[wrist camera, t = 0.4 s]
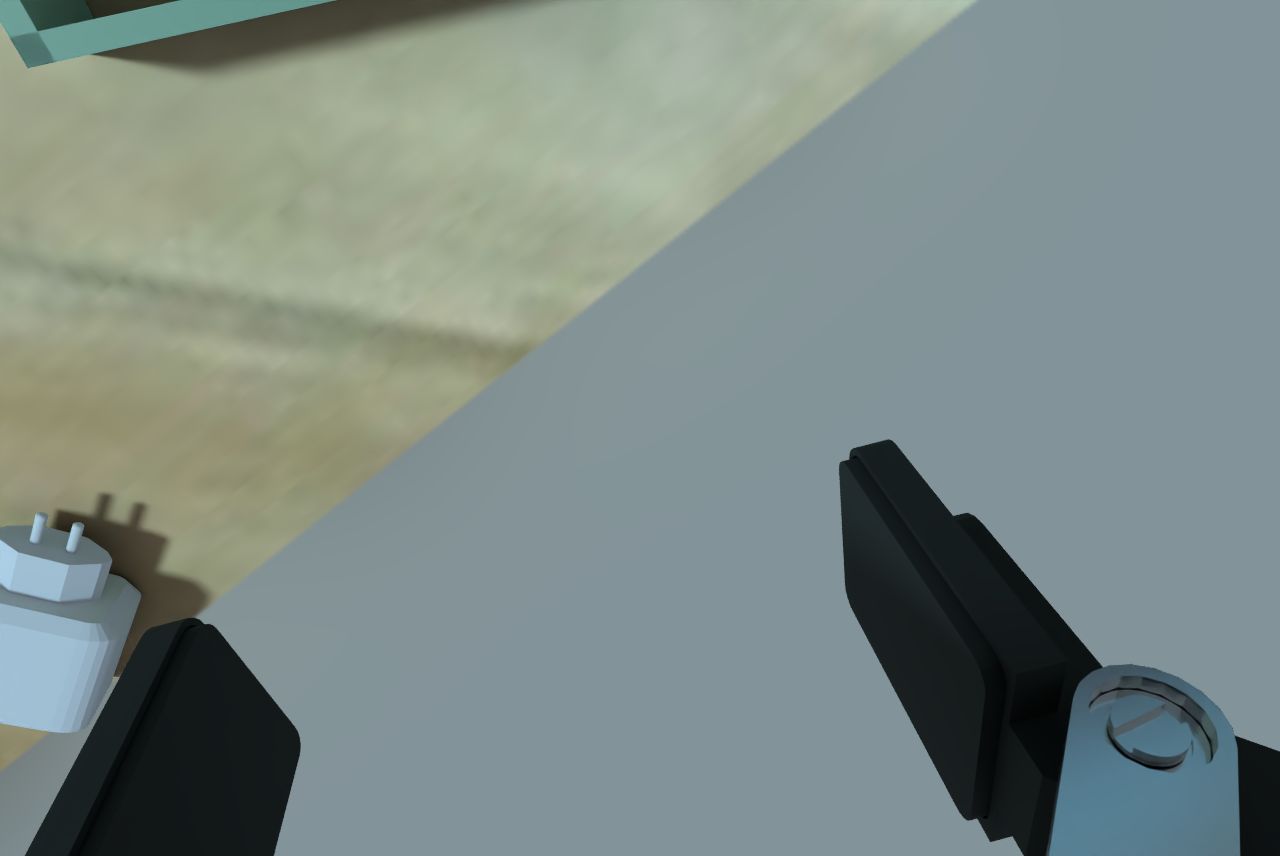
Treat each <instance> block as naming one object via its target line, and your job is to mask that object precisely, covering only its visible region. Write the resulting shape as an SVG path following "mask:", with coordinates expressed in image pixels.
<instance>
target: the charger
mask: <svg viewBox="0 0 1280 856" xmlns="http://www.w3.org/2000/svg"><path fill="white" fill-rule="evenodd" d="M47 518H48V515H47V514H46V513H43V512H40V513H37V514H36V516H35V520H34V524H33V526H5V527H1V528H0V723H3V724H9V725H15V726H20V727H26V728H32V729H38V730H44V731H50V732H59V733H65V732H75V731H80V730H82V729H85V728H86V727H87V726H88V725H89V724H90V722H91V720H92V718H93V716H94V714H95V712H96V710H97V709H98V707H99V705H100V703H101V701H102V700H103V698H104V696H105V694H106V692H107V690H108V688H109V687H110V685H111V682H112V679H113V676H114V673H115V670H116V668H117V665H118V662H119V659H120V656H121V653H122V651H123V648H124V645H125V642H126V639H127V636H128V633H129V631H130V628H131V625H132V622H133V619H134V616H135V614H136V611H137V608H138V605H139V602H140V599H141V593H140V592H139V590H137V589H136V588H135V587H134V586H133V585H131V584H130V583H129V582H128V581H127V580H125V579H124V578H122V577H120V576H117V575H113V574H109V570H110V567H111V563H112V559H111V557H110V555H109V553H108V552H107V551H106V550H104V549H103V548H102V547H100V546H99V545H97V544H96V543H94V542H93V541H92V540H90V539H89V538H87V537H83V536H82V533H83V529H84V525H83V524H82V523H80V522H76V523H73V526H72V529H71V533H68V532H64V531H60V530H57V529H53V528H49V527H45V526H46V522H47Z"/></svg>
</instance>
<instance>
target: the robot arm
mask: <svg viewBox="0 0 1280 856" xmlns="http://www.w3.org/2000/svg"><path fill="white" fill-rule="evenodd" d="M839 476H840V493H841V494H840V495H841V512H842V513H841V515H842V534H843V552H844V571H845V587H846V593H847V597H848V600H849V603H850V606H851V608H852V610H853V612H854V614H855V616H856V618H857V620H858V622H859V624H860V625H861V627H862V629H863V631H864V633H865V635H866V637H867V639H868V641H869V642H870V644H871V646H872V648H873V650H874V652H875V654H876V656H877V658H878V659H879V661H880V663H881V665H882V667H883V669H884V671H885V672H886V674H887V676H888V678H889V680H890V682H891V684H892V686H893V688H894V690H895V692H896V693H897V695H898V697H899V699H900V701H901V703H902V705H903V707H904V709H905V711H906V712H907V714H908V716H909V718H910V720H911V722H912V724H913V726H914V728H915V729H916V731H917V733H918V735H919V737H920V739H921V740H922V743H923V744H924V746H925V748H926V750H927V752H928V754H929V756H930V758H931V759H932V761H933V764H934V765H935V767H936V769H937V771H938V773H939V775H940V777H941V779H942V780H943V782H944V784H945V786H946V788H947V790H948V792H949V794H950V795H951V798H952V799H953V801H954V803H955V805H956V807H957V809H958V810H959V812H960V813H961V815H962V816H963V817H964V818H965V819H966V820H973V819H978V820H979V822H980V824H981V826H982V828H983V830H984V831H985V833H986V835H987V837H988V839H989V841H990V842H992V841H996V840H1000V839H1004V838H1007V837H1011V836H1013V838H1014V839H1015V841H1016V843H1017V845H1018V847H1019V848H1020V850H1021V852H1022V854H1023V855H1024V856H1280V751H1277V750H1274V749H1271V748H1268V747H1266V746H1263V745H1260V744H1257V743H1254V742H1251V741H1249V740H1246V739H1243V738H1240V737H1237V736H1235V735H1234V732H1233V728H1232V726H1231V725H1230V723H1229V722H1228V720H1227V719H1226V717H1225V715H1224V714H1223V712H1222V711H1221V709H1220V708H1219V707H1218V706H1217V705H1216V704H1215V703H1214V702H1213V701H1211V700H1210V699H1209V698H1208V697H1207V696H1206V695H1205V694H1204V693H1203V692H1202V691H1200V690H1199V689H1197V688H1195V687H1194V686H1192V685H1191V684H1189V683H1187V682H1186V681H1184V680H1182V679H1181V678H1179V677H1176V676H1174V675H1171V674H1169V673H1166V672H1163V671H1161V670H1158V669H1155V668H1150V667H1145V666H1138V665H1133V664H1126V665H1109V666H1106V667H1104V668H1103V667H1102V666H1101V665H1100V663H1099V662H1098V661H1097V660H1096V658H1095V657H1094V656H1093V655H1092V654H1091V652H1090V651H1089V650H1088V649H1087V648H1086V646H1085V645H1084V644H1083V643H1082V642H1081V641H1080V639H1079V638H1078V637H1077V636H1076V635H1075V633H1074V632H1073V631H1072V630H1071V629H1070V627H1069V626H1068V625H1067V624H1066V623H1065V621H1064V620H1063V619H1062V618H1061V617H1060V615H1059V614H1058V613H1057V612H1056V611H1055V609H1054V608H1053V607H1052V606H1051V605H1050V604H1049V602H1048V601H1047V600H1046V599H1045V598H1044V597H1043V595H1042V594H1041V593H1040V592H1039V590H1038V589H1037V588H1036V587H1035V586H1034V584H1033V583H1032V582H1031V581H1030V580H1029V578H1028V577H1027V576H1026V575H1025V574H1024V572H1023V571H1021V569H1020V568H1019V567H1018V566H1017V564H1016V563H1015V562H1014V561H1013V559H1012V558H1011V557H1010V556H1009V555H1008V553H1007V552H1006V551H1005V550H1004V549H1003V547H1002V546H1001V545H1000V544H999V543H998V542H997V540H996V539H995V538H994V537H993V536H992V534H991V533H990V532H989V531H988V530H987V528H986V527H985V526H984V525H983V524H982V523H981V522H980V521H979V520H978V519H977V518H976V517H975V516H973V515H971V514H969V513H964V514H960V515H956V516H953V515H952V514H951V513H950V512H949V510H948V509H947V508H946V507H945V505H944V504H943V503H942V502H941V500H940V499H939V498H938V497H937V495H936V494H935V493H934V492H933V490H932V489H931V488H930V487H929V485H928V484H927V483H926V482H925V480H924V479H923V478H922V476H921V475H920V474H919V473H918V472H917V470H916V469H915V468H914V467H913V465H912V464H911V463H910V462H909V460H908V459H907V458H906V456H905V455H904V454H903V453H902V452H901V450H900V449H899V448H898V446H897V445H896V444H895V443H894V442H893V441H892V440H885V441H881V442H876V443H872V444H869V445H865V446H861V447H857V448H853V449H852V450H851V451H850V457H849V460H846V461H842V462H840V465H839ZM300 744H301V743H300V737H299V734H298V731H297V729H296V728H295V726H294V725H293V724H292V723H291V721H290V720H289V719H288V718H287V716H286V715H285V714H284V713H283V711H282V710H281V709H280V708H279V706H278V705H277V704H276V702H275V701H274V700H273V699H272V697H271V696H270V695H269V694H268V693H267V691H266V690H265V689H264V687H263V686H262V685H261V684H260V682H259V681H258V680H257V679H256V677H255V676H254V675H253V674H252V672H251V671H250V670H249V669H248V668H247V666H246V665H245V664H244V662H243V661H242V660H241V658H240V657H239V656H238V655H237V653H236V652H235V651H234V650H233V649H232V647H231V646H230V645H229V643H228V642H227V641H226V640H225V638H224V637H223V636H222V635H221V633H220V632H219V631H218V630H217V629H216V628H215V627H214V626H213V625H211V624H204V623H203V622H202V621H200V620H199V619H196V618H187V619H183V620H180V621H176V622H172V623H168V624H164V625H160V626H156V627H152V628H150V629H149V630H147V631H146V632H145V633H144V634H143V636H142V637H141V639H140V641H139V643H138V644H137V646H136V648H135V650H134V652H133V654H132V656H131V658H130V659H129V661H128V663H127V665H126V667H125V669H124V671H123V673H122V674H121V676H120V678H119V680H118V682H117V684H116V686H115V688H114V689H113V691H112V693H111V695H110V697H109V699H108V701H107V703H106V704H105V706H104V708H103V710H102V712H101V714H100V716H99V718H98V719H97V722H96V723H95V725H94V727H93V729H92V731H91V733H90V735H89V736H88V738H87V740H86V742H85V744H84V746H83V748H82V749H81V751H80V753H79V755H78V757H77V759H76V761H75V763H74V765H73V766H72V768H71V770H70V772H69V774H68V776H67V778H66V779H65V782H64V783H63V785H62V787H61V789H60V791H59V793H58V794H57V796H56V798H55V800H54V802H53V804H52V806H51V808H50V810H49V812H48V813H47V815H46V817H45V819H44V821H43V823H42V824H41V826H40V828H39V830H38V832H37V834H36V836H35V838H34V839H33V841H32V843H31V845H30V847H29V849H28V851H27V853H26V855H25V856H274V853H275V849H276V845H277V841H278V837H279V833H280V830H281V826H282V822H283V818H284V814H285V810H286V806H287V802H288V798H289V795H290V791H291V786H292V783H293V779H294V775H295V771H296V767H297V763H298V759H299V756H300V746H301V745H300Z"/></svg>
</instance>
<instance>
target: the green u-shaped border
mask: <svg viewBox="0 0 1280 856" xmlns="http://www.w3.org/2000/svg"><path fill="white" fill-rule="evenodd" d="M330 1H335V0H179V1H174V2H170V3H165V4H161V5H156V6H151V7H147V8H142V9H138V10H133V11H129V12H124V13H119V14H115V15H110V16H106V17H101V18H97V19H95V18H94V16H93V15H92V13H91V11H90V9H89V7H88V5H87V3H86V1H85V0H0V22H1V24H2V26H3V27H4V29H5V31H6V32H7V34H8V36H9V37H10V39H11V41H12V42H13V44H14V46H15V47H16V49H17V51H18V52H19V54H20V56H21V57H22V59H23V61H24V62H25V64H26V66H27V67H28V68H30V67H35V66H39V65H44V64H48V63H53V62H57V61H62V60H66V59H71V58H76V57H80V56H85V55H89V54H94V53H98V52H103V51H107V50H112V49H116V48H121V47H126V46H130V45H135V44H139V43H144V42H148V41H153V40H157V39H162V38H166V37H171V36H176V35H180V34H185V33H189V32H194V31H198V30H203V29H207V28H212V27H216V26H221V25H226V24H230V23H235V22H239V21H244V20H248V19H253V18H257V17H262V16H266V15H271V14H276V13H280V12H285V11H289V10H294V9H298V8H303V7H307V6H312V5H316V4H321V3H326V2H330Z"/></svg>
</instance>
